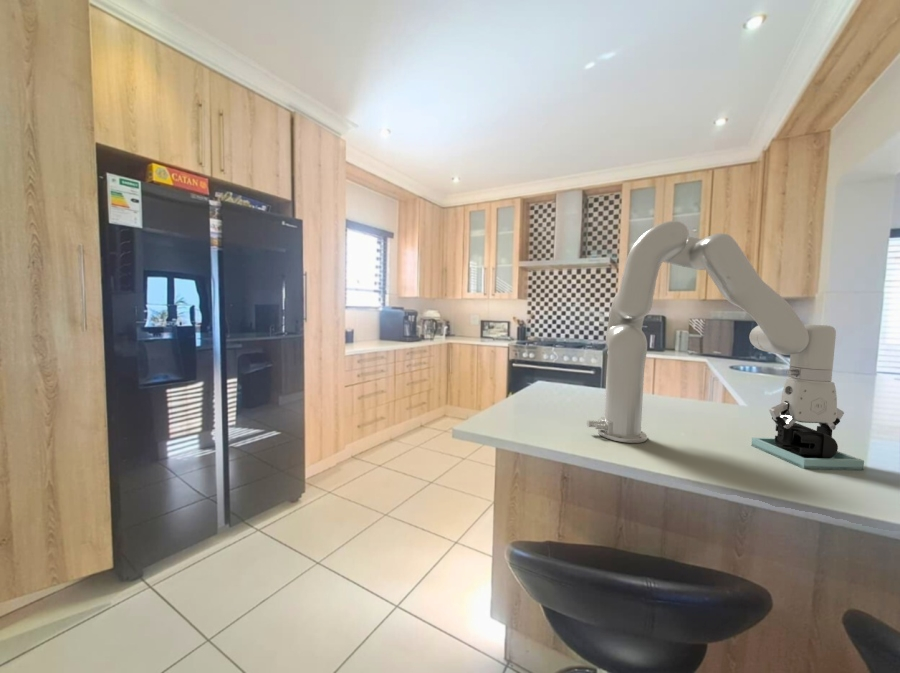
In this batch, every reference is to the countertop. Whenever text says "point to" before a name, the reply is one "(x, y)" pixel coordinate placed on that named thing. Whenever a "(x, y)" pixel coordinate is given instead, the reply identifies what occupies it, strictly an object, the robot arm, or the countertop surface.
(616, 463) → the countertop surface
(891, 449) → the countertop surface
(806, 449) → the end cap
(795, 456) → the tray
